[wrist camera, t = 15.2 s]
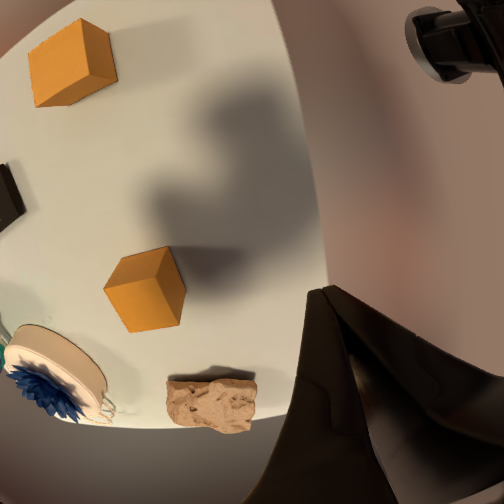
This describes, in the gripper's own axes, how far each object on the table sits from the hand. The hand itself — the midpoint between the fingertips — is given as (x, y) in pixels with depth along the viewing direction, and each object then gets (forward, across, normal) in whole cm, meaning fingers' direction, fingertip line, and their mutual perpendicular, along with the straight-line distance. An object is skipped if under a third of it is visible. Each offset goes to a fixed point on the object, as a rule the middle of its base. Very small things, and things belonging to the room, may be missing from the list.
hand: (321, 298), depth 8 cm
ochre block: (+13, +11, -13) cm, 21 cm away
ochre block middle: (+13, +11, +5) cm, 18 cm away
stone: (+13, +11, +23) cm, 29 cm away
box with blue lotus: (+13, +32, +18) cm, 39 cm away
